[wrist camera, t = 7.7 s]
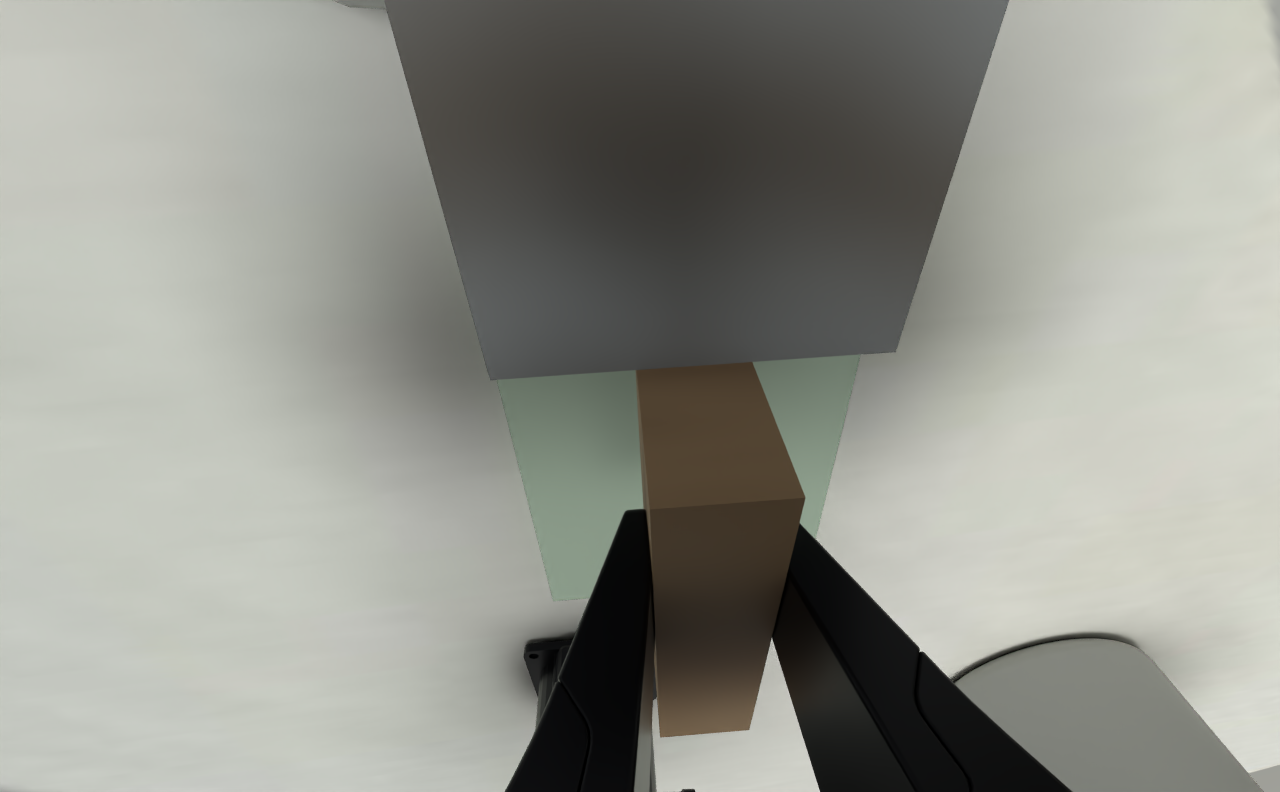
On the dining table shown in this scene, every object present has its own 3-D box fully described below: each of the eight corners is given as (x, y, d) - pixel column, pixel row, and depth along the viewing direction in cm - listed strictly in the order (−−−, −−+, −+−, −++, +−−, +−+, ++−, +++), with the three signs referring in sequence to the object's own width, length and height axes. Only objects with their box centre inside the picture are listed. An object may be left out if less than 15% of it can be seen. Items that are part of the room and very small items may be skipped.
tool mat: (798, 561, 24) (805, 580, 23) (554, 580, 23) (553, 601, 23) (897, 114, 13) (917, 121, 12) (448, 142, 13) (438, 151, 12)
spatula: (804, 564, 15) (859, 720, 12) (559, 583, 15) (548, 746, 12) (995, -125, 6) (1412, -227, 3) (386, -95, 6) (153, -169, 3)
